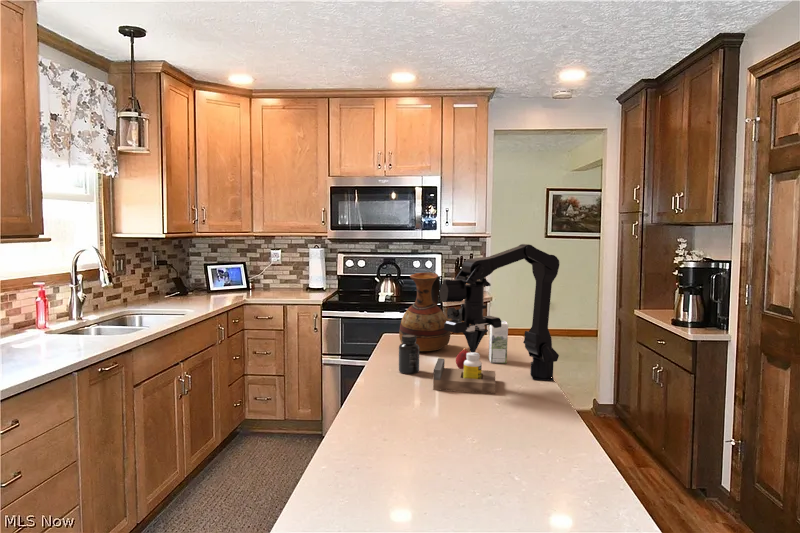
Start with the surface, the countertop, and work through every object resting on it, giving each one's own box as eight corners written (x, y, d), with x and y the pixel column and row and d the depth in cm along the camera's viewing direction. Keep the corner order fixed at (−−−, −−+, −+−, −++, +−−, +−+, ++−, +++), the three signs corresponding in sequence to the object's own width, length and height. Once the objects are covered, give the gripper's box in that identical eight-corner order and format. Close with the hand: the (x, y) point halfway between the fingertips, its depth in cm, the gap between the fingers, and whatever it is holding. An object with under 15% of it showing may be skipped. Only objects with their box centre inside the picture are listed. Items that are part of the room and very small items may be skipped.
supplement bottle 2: (480, 388, 166) (481, 356, 166) (462, 387, 167) (463, 355, 167) (481, 383, 172) (482, 352, 171) (463, 382, 173) (464, 351, 172)
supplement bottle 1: (419, 369, 187) (420, 334, 186) (418, 374, 180) (419, 338, 179) (399, 368, 187) (400, 333, 186) (397, 374, 181) (397, 337, 180)
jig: (494, 380, 175) (495, 361, 175) (495, 393, 162) (495, 373, 161) (437, 376, 178) (438, 358, 178) (433, 389, 164) (433, 369, 164)
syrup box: (504, 359, 202) (505, 320, 200) (507, 363, 196) (508, 323, 194) (488, 359, 202) (489, 319, 200) (490, 363, 196) (491, 322, 195)
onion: (467, 375, 181) (467, 350, 180) (452, 372, 184) (452, 348, 184) (476, 371, 185) (476, 347, 185) (461, 368, 189) (461, 345, 188)
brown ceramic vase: (390, 351, 212) (392, 273, 209) (410, 341, 230) (411, 268, 228) (439, 357, 204) (441, 275, 202) (456, 346, 222) (458, 271, 220)
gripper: (478, 295, 179) (476, 343, 181) (432, 300, 169) (431, 350, 170) (503, 300, 170) (501, 350, 172) (457, 304, 159) (456, 358, 161)
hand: (472, 352), depth 169 cm, fingers closed
